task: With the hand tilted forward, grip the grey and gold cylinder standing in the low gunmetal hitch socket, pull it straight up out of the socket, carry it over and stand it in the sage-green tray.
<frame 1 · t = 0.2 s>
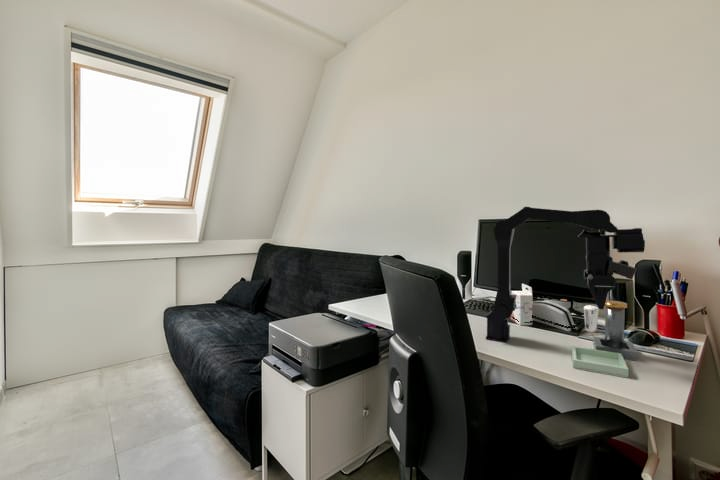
hand: (599, 305, 98), 14 cm above the table, tool pointing down, fingers open, 9 cm apart
milkshake: (591, 331, 119), on the table
grey and gold cylinder: (614, 327, 99), in the hitch socket
grey arched block: (550, 325, 127), on the table
hitch socket: (613, 352, 99), on the table
tray: (597, 364, 91), on the table
ink cartridge box: (520, 322, 130), on the table
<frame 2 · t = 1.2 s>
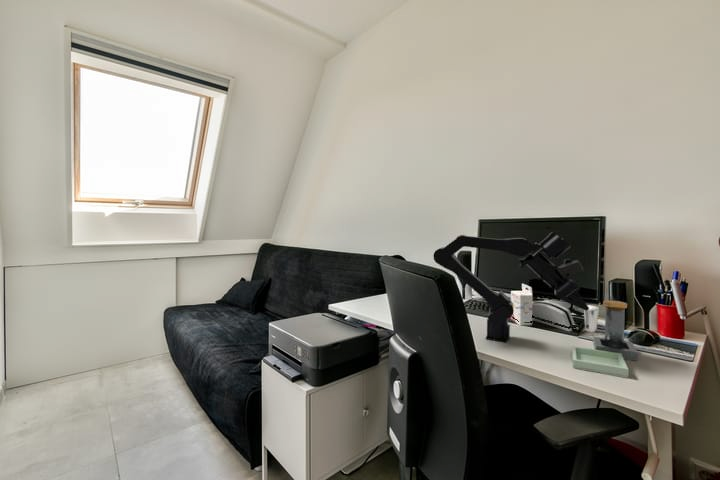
hand: (584, 305, 102), 13 cm above the table, tool tilted 45°, fingers open, 9 cm apart
nothing on the table moved.
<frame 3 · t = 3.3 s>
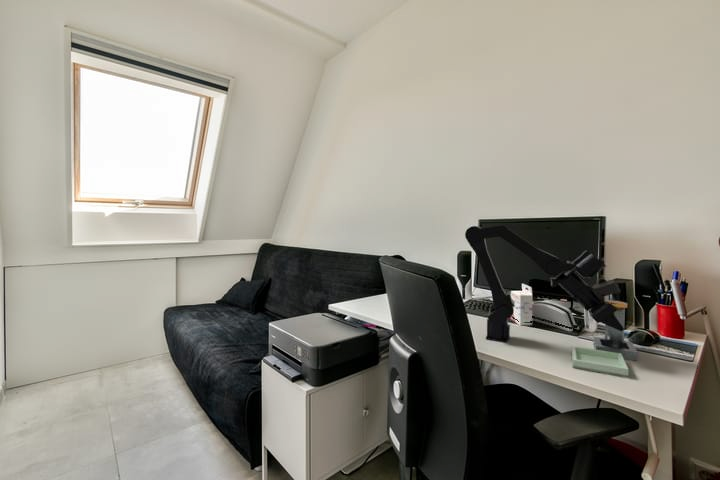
hand: (620, 327, 98), 8 cm above the table, tool tilted 45°, fingers closed on grey and gold cylinder, 4 cm apart
grey and gold cylinder: (614, 327, 99), in the hitch socket, touching gripper
everything else where it was.
when the fingers open (9 cm above the table, at t = 6.5 s): grey and gold cylinder stays where it is, resting on tray.
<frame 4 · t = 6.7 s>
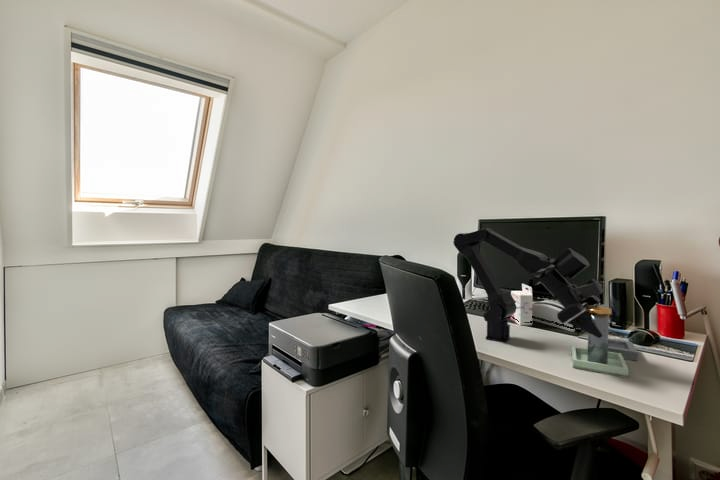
hand: (604, 334, 89), 9 cm above the table, tool tilted 45°, fingers open, 6 cm apart
grey and gold cylinder: (597, 335, 90), in the tray, point 8 cm above the table, touching gripper
everything else where it was.
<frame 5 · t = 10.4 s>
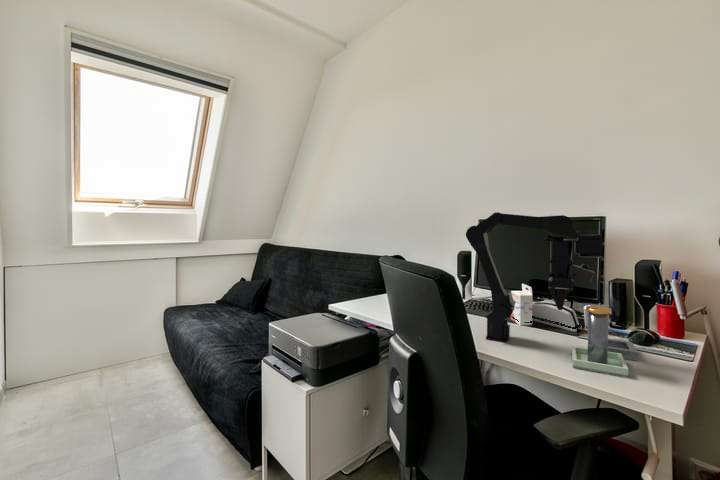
hand: (560, 306, 103), 13 cm above the table, tool pointing down, fingers open, 9 cm apart
grey and gold cylinder: (597, 335, 90), in the tray, point 8 cm above the table
at the end: grey and gold cylinder inside the target area on the tray (0.1 cm from its centre), point 8.1 cm above the tray's base; grey and gold cylinder tilted 0°; the gripper is holding nothing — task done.
